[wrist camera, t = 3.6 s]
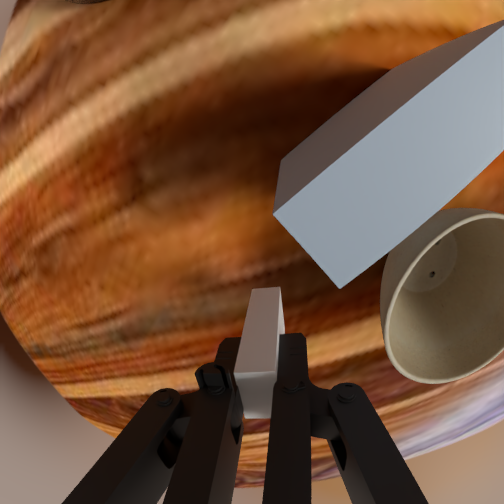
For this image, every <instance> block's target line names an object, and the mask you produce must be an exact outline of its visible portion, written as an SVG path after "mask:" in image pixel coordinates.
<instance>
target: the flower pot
mask: <svg viewBox="0 0 504 504" xmlns="http://www.w3.org/2000/svg"><path fill="white" fill-rule="evenodd" d="M432 272H434V274H432ZM380 316H381V326H382V333H383V339H384V343H385V348H386V352H387V355H388V357H389V359H390V361H391V363H392V364H393V366H394V367H395V368H396V369H397V370H398V371H399V372H400V373H401V374H402V375H404V376H405V377H407V378H409V379H411V380H414V381H417V382H421V383H428V384H437V383H446V382H450V381H454V380H457V379H461V378H463V377H466V376H468V375H470V374H472V373H474V372H476V371H478V370H479V369H481V368H482V367H484V366H485V365H486V364H488V363H489V362H491V361H492V360H493V359H494V358H495V357H497V356H498V355H499V354H500V353H501V352H502V351H503V350H504V215H503V214H500V213H497V212H493V211H488V210H483V209H474V208H452V209H445V210H441V211H437V212H436V213H435V214H434V215H433V216H432V217H430V218H429V219H428V220H427V221H426V222H424V223H423V224H422V225H421V226H420V227H419V228H417V229H416V230H415V231H414V232H413V233H411V234H410V235H409V236H408V237H406V238H405V239H404V240H403V241H402V242H400V243H399V244H398V245H397V246H395V247H394V248H393V249H392V250H390V252H389V254H388V257H387V260H386V263H385V267H384V271H383V276H382V282H381V291H380Z"/></svg>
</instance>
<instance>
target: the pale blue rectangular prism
mask: <svg viewBox="0 0 504 504" xmlns="http://www.w3.org/2000/svg"><path fill="white" fill-rule="evenodd" d="M503 150H504V20H502V21H499V22H497V23H494V24H491V25H489V26H486V27H483V28H481V29H478V30H476V31H473V32H471V33H469V34H466V35H464V36H461V37H459V38H457V39H454V40H452V41H450V42H448V43H445V44H443V45H441V46H439V47H436V48H434V49H432V50H430V51H428V52H426V53H424V54H421V55H419V56H417V57H415V58H413V59H411V60H409V61H407V62H405V63H403V64H401V65H399V66H397V67H395V68H393V69H391V70H390V71H389V72H387V73H386V74H385V75H383V76H382V77H381V78H380V79H378V80H377V81H376V82H374V83H373V84H372V85H371V86H369V87H368V88H367V89H366V90H364V91H363V92H362V93H361V94H359V95H358V96H357V97H356V98H354V99H353V100H352V101H351V102H349V103H348V104H347V105H346V106H344V107H343V108H342V109H341V110H340V111H338V112H337V113H336V114H335V115H333V116H332V117H331V118H330V119H329V120H327V121H326V122H325V123H324V124H323V125H321V126H320V127H319V128H318V129H317V130H315V131H314V132H313V133H312V134H311V135H310V136H308V137H307V138H306V139H305V140H304V141H302V142H301V143H300V144H299V145H298V146H297V147H295V148H294V149H293V150H292V151H291V152H290V153H288V154H287V155H286V156H285V157H284V158H283V159H282V160H281V163H280V170H279V176H278V183H277V189H276V195H275V202H274V208H273V215H274V216H275V217H276V219H277V220H278V221H279V222H280V223H281V224H282V225H283V226H284V227H285V228H286V229H287V231H288V232H289V233H290V234H291V235H292V236H293V237H294V238H295V239H296V240H297V242H298V243H299V244H300V245H301V246H302V247H303V248H304V249H305V251H306V252H307V253H308V254H309V255H310V256H311V257H312V258H313V259H314V261H315V262H316V263H317V264H318V265H319V266H320V267H321V269H322V270H323V271H324V272H325V273H326V274H327V275H328V276H329V278H330V279H331V280H332V281H333V282H334V283H335V284H336V286H337V287H338V288H339V289H341V288H342V287H343V286H345V285H346V284H347V283H349V282H350V281H351V280H353V279H354V278H355V277H357V276H358V275H359V274H361V273H362V272H363V271H365V270H366V269H367V268H369V267H370V266H371V265H372V264H374V263H375V262H376V261H378V260H379V259H380V258H381V257H383V256H384V255H385V254H387V253H388V252H389V251H390V250H392V249H393V248H394V247H395V246H397V245H398V244H399V243H400V242H402V241H403V240H404V239H405V238H406V237H408V236H409V235H410V234H411V233H413V232H414V231H415V230H416V229H417V228H419V227H420V226H421V225H422V224H423V223H424V222H426V221H427V220H428V219H429V218H430V217H432V216H433V215H434V214H435V213H436V212H437V211H439V210H440V209H441V208H442V207H443V206H444V205H445V204H447V203H448V202H449V201H450V200H451V199H452V198H453V197H454V196H456V195H457V194H458V193H459V192H460V191H461V190H462V189H463V188H464V187H465V186H467V185H468V184H469V183H470V182H471V181H472V180H473V179H474V178H475V177H476V176H477V175H478V174H479V173H480V172H482V171H483V170H484V169H485V168H486V167H487V166H488V165H489V164H490V163H491V162H492V161H493V160H494V159H495V158H496V157H497V156H498V155H499V154H500V153H501V152H502V151H503Z"/></svg>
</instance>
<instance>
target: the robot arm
mask: <svg viewBox="0 0 504 504" xmlns="http://www.w3.org/2000/svg"><path fill="white" fill-rule="evenodd" d="M66 1H69V2H74V3H93V2H99V1H104V0H66ZM195 376H196V379H197V382H198V385H199V388H200V389H199V390H198V391H196V392H193V393H189V394H184V395H180V394H179V393H178V392H177V391H176V390H174V389H170V388H165V389H160V390H158V391H156V392H154V393H153V394H152V395H151V396H150V397H149V398H148V400H147V401H146V402H145V403H144V405H143V406H142V407H141V408H140V410H139V411H138V412H137V413H136V414H135V416H134V417H133V418H132V419H131V421H130V422H129V423H128V424H127V425H126V427H125V428H124V429H123V430H122V432H121V433H120V434H119V435H118V436H117V438H116V439H115V440H114V441H113V443H112V444H111V445H110V447H108V449H107V450H106V451H105V452H104V454H103V455H102V456H101V457H100V458H99V460H98V461H97V462H96V463H95V465H94V466H93V467H92V468H91V469H90V471H89V472H88V473H87V474H86V475H85V477H84V478H83V479H82V480H81V481H80V483H79V484H78V485H77V486H76V487H75V488H74V490H73V491H72V492H71V493H70V494H69V496H68V497H67V498H66V499H65V500H64V502H63V503H62V504H157V502H158V501H159V499H160V498H161V496H162V494H163V493H164V492H165V490H166V489H167V492H166V495H165V498H164V501H163V504H231V501H232V496H233V490H234V484H235V478H236V472H237V466H238V460H239V454H240V448H241V442H242V436H243V429H244V427H243V422H242V416H243V412H244V416H245V418H271V420H270V432H269V442H268V453H267V463H266V473H265V482H264V492H263V501H262V504H311V436H313V437H318V438H323V439H327V442H328V444H329V447H330V449H331V452H332V454H333V457H334V459H335V462H336V464H337V467H338V469H339V472H340V474H341V477H342V479H343V481H344V484H345V486H346V489H347V492H348V494H349V496H350V499H351V501H352V504H428V502H427V500H426V498H425V496H424V495H423V493H422V491H421V489H420V487H419V486H418V484H417V482H416V480H415V478H414V477H413V475H412V473H411V471H410V470H409V468H408V466H407V464H406V463H405V461H404V459H403V457H402V455H401V454H400V452H399V450H398V448H397V447H396V445H395V443H394V442H393V440H392V438H391V436H390V435H389V433H388V431H387V429H386V428H385V426H384V424H383V423H382V421H381V419H380V417H379V416H378V414H377V412H376V411H375V409H374V407H373V406H372V404H371V402H370V400H369V399H368V397H367V395H366V394H365V392H364V390H363V389H362V388H361V387H360V386H358V385H356V384H354V383H340V384H338V385H336V386H334V387H333V388H332V389H331V390H328V389H322V388H319V387H317V386H315V385H313V384H312V383H311V381H310V380H309V377H308V361H307V345H306V338H305V337H304V336H303V334H302V333H291V334H285V327H284V318H283V309H282V300H281V291H280V287H271V288H258V289H252V292H251V297H250V301H249V306H248V310H247V315H246V319H245V324H244V328H243V333H242V337H234V338H225V339H224V340H223V341H222V342H221V343H220V345H219V348H218V351H217V354H216V359H215V361H214V362H212V363H207V364H204V365H202V366H201V367H199V368H198V369H197V370H196V372H195ZM167 487H168V488H167Z"/></svg>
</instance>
